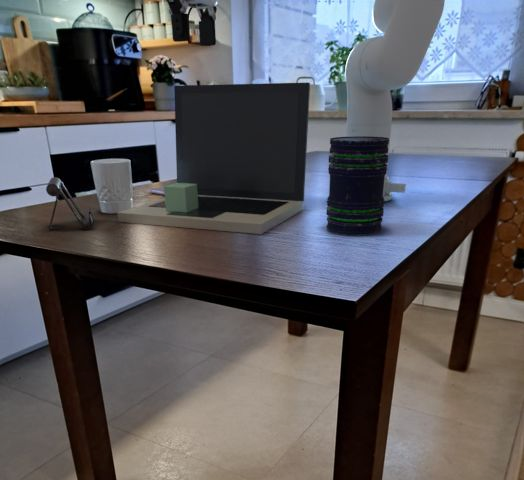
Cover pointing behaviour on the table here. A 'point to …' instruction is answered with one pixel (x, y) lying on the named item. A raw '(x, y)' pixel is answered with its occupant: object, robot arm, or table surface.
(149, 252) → the table surface
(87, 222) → the tablet stand
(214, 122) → the laptop screen
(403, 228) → the table surface
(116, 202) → the white cup
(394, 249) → the table surface
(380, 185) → the storage jar
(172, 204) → the block
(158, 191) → the mobile phone
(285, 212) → the laptop base
